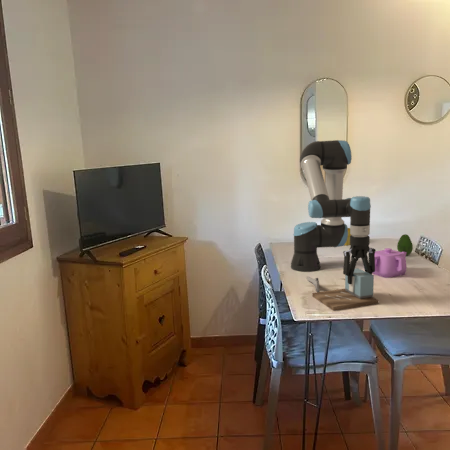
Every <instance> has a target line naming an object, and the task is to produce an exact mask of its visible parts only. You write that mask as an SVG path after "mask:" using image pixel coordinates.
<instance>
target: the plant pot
mask: <svg viewBox="0 0 450 450" xmlns="http://www.w3.org/2000/svg"><path fill="white" fill-rule="evenodd" d="M350 236H351V234H350V227H348V237H347V241H346V243H345V245H344V246H351V245H350Z"/></svg>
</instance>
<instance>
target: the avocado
mask: <svg viewBox="0 0 450 450" xmlns="http://www.w3.org/2000/svg"><path fill="white" fill-rule="evenodd" d="M413 245H414V244H413V243H412V240H411V237H410V236H409V235H408V234H406V233H405V234H402V235H401V236H400V238H399V239H398V242H397V245H396V246H397V247H396V249H397V251H399V252H407V253H406V256H409V255H410V254H411V253H412V252H413ZM406 256H405V257H406Z"/></svg>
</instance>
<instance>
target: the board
mask: <svg viewBox="0 0 450 450" xmlns="http://www.w3.org/2000/svg"><path fill="white" fill-rule="evenodd" d="M311 295H312V297H313V298H314V299H316V301H319V302H320V303H321V304H322V305H324V306H326V307H328V308H329V309H330V310H332V311H340V310H346V309H354V308H360V307H365V306H372V305H378V304H379V299H377V298H375V297H374V296H373V297H369V298H363V299H359V298H358V297H356V296H354V295H352V294H351V293H349V292H347V291H345V288H339V289H331V290H326V291H319V292H317V291H316V292H313V293H312V294H311Z"/></svg>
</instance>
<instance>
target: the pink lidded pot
mask: <svg viewBox="0 0 450 450" xmlns="http://www.w3.org/2000/svg"><path fill="white" fill-rule="evenodd" d="M406 253H407V252H399V251H398V250H394V249H392V248H391V247H386V248H384V249H382V250H381V249H380V250H376V251H375V272H372V275H374V276H379V277H381V278H384V279H389V278H395V277H400V276H403V275H405V274H406V272H407V268H408V267H407V258H406Z"/></svg>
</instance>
